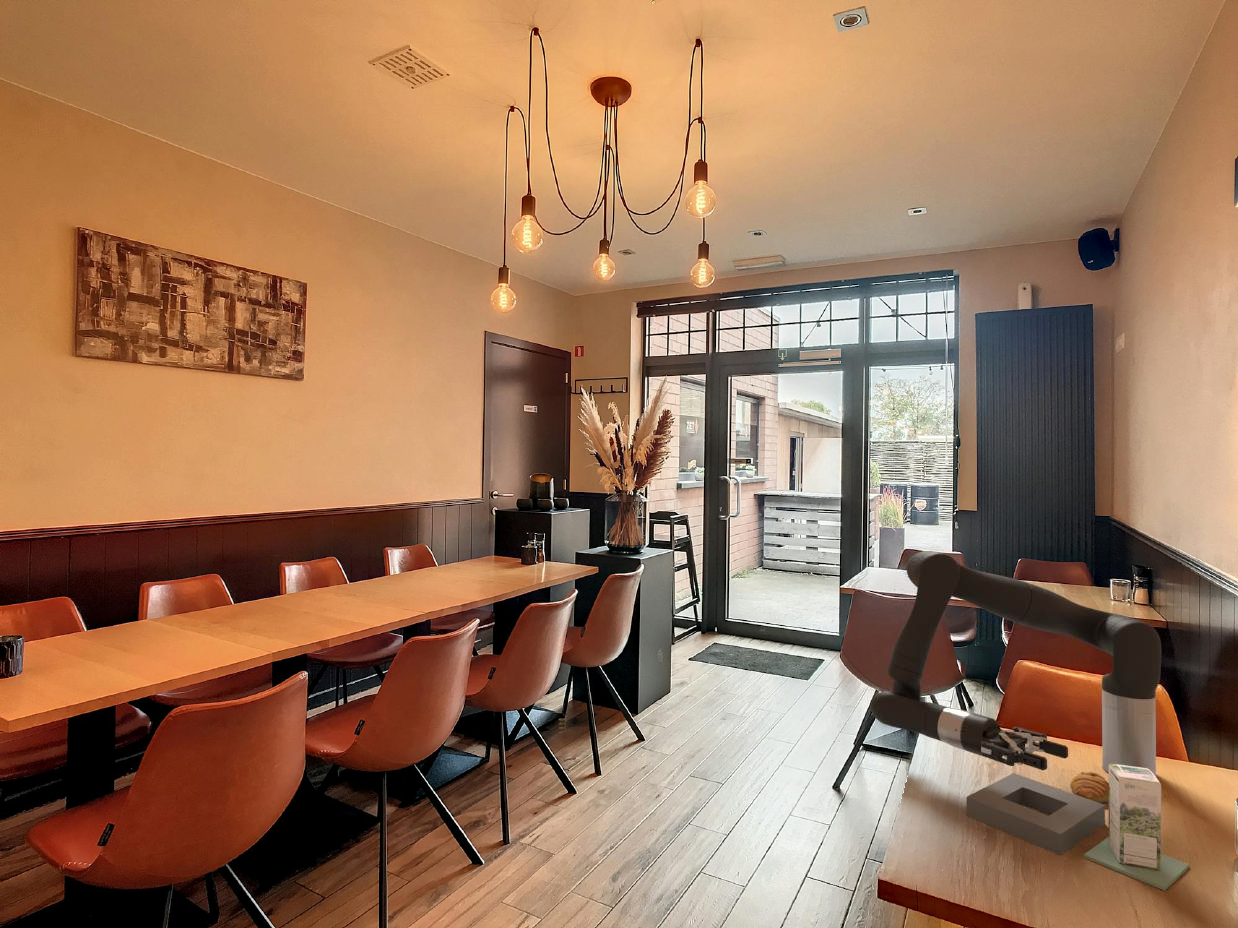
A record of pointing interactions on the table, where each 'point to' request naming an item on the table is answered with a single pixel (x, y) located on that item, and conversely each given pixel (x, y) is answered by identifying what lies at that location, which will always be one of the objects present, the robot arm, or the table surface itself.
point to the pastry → (1091, 787)
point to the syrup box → (1135, 816)
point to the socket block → (1053, 832)
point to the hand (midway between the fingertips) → (1057, 758)
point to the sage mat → (1156, 878)
